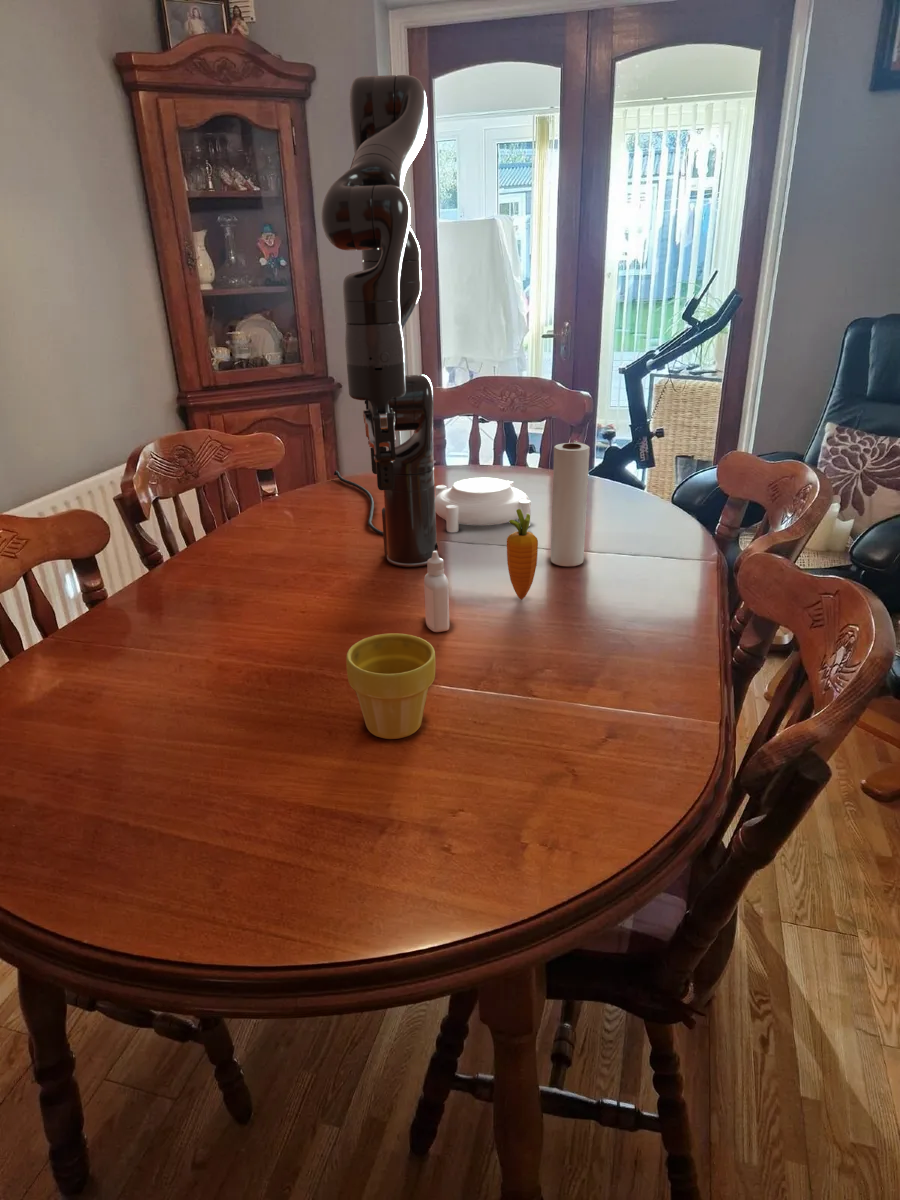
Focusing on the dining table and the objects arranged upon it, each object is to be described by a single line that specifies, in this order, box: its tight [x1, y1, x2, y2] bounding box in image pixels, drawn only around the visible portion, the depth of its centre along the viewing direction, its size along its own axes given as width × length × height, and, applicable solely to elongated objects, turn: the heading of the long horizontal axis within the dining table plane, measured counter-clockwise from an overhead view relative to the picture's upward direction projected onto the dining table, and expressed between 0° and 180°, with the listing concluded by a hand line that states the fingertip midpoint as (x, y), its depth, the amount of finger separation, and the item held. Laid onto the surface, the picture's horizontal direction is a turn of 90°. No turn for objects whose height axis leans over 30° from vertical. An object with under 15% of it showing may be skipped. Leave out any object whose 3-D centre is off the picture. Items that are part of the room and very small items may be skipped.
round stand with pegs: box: [435, 476, 532, 533], centre depth 162 cm, size 24×24×7 cm
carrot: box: [506, 509, 539, 601], centre depth 120 cm, size 5×5×15 cm
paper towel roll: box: [550, 439, 591, 567], centre depth 134 cm, size 7×6×21 cm
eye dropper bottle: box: [423, 551, 450, 633], centre depth 113 cm, size 4×6×12 cm
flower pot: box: [345, 633, 436, 740], centre depth 89 cm, size 10×10×10 cm
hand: (382, 481), depth 105 cm, fingers open, 8 cm apart
